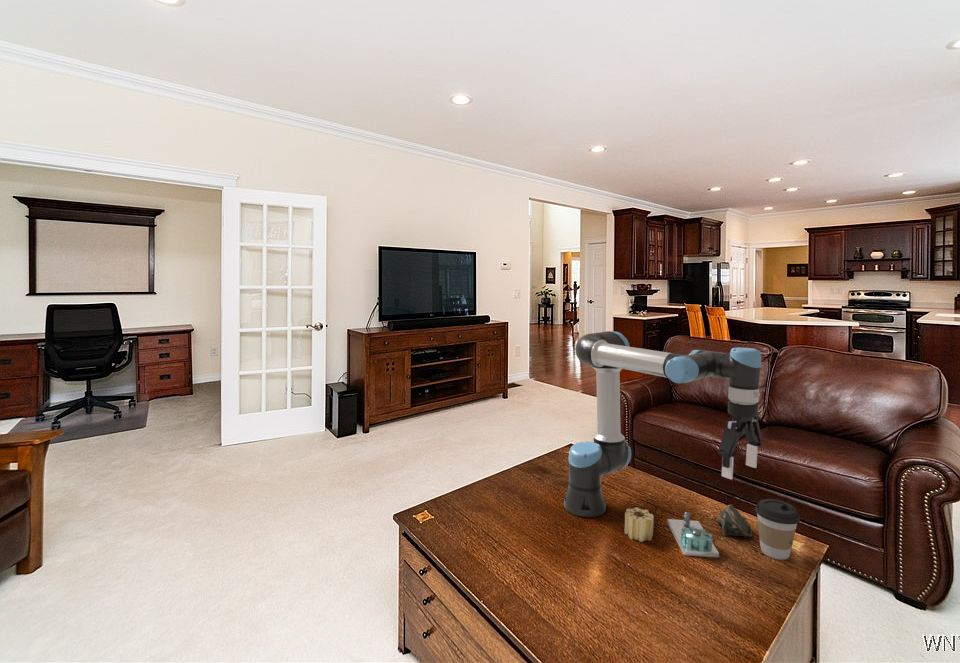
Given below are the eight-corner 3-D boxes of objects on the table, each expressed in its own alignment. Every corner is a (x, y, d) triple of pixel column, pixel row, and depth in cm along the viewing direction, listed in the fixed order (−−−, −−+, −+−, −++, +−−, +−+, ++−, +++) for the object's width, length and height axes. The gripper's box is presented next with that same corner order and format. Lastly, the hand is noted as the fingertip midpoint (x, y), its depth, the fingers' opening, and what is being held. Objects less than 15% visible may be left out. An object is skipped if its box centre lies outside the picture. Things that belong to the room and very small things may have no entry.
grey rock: (760, 541, 137) (746, 514, 137) (732, 551, 140) (717, 524, 139) (746, 521, 148) (733, 496, 148) (720, 531, 150) (706, 506, 150)
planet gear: (619, 532, 145) (619, 512, 144) (635, 524, 150) (635, 504, 149) (642, 545, 137) (642, 524, 137) (658, 535, 142) (658, 515, 142)
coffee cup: (799, 569, 125) (802, 519, 123) (753, 556, 131) (755, 509, 129) (796, 548, 134) (799, 502, 133) (752, 537, 140) (755, 493, 139)
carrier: (683, 555, 132) (684, 535, 131) (667, 523, 150) (667, 505, 149) (718, 557, 131) (719, 537, 130) (698, 525, 148) (698, 507, 148)
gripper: (733, 411, 115) (729, 487, 118) (778, 397, 129) (773, 466, 131) (706, 405, 122) (702, 477, 124) (751, 392, 135) (747, 457, 137)
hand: (739, 471), depth 127 cm, fingers open, 13 cm apart
